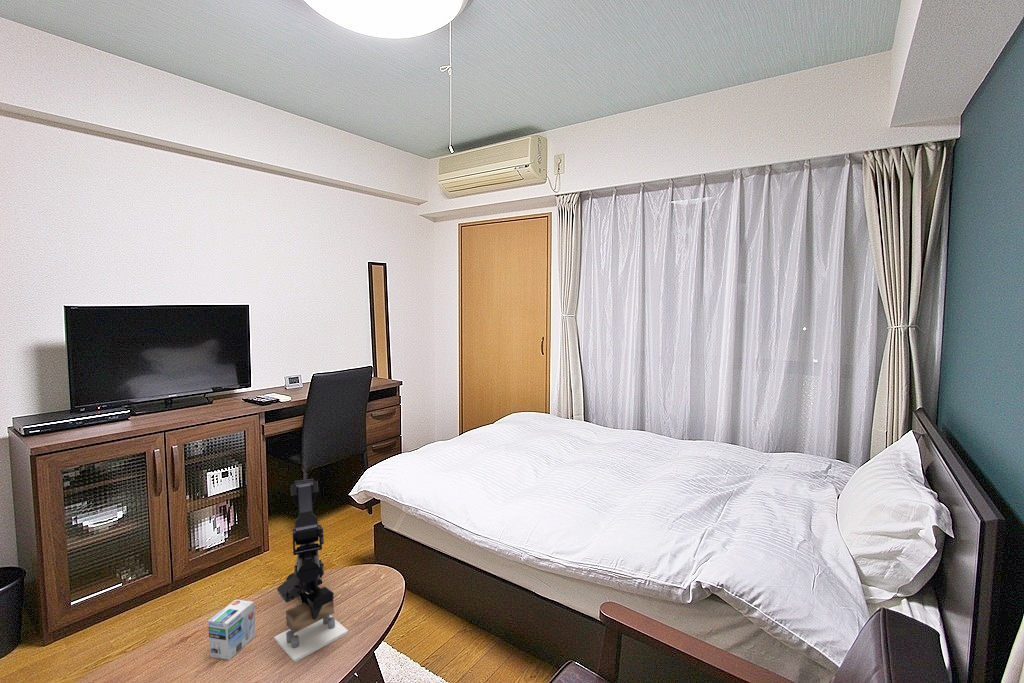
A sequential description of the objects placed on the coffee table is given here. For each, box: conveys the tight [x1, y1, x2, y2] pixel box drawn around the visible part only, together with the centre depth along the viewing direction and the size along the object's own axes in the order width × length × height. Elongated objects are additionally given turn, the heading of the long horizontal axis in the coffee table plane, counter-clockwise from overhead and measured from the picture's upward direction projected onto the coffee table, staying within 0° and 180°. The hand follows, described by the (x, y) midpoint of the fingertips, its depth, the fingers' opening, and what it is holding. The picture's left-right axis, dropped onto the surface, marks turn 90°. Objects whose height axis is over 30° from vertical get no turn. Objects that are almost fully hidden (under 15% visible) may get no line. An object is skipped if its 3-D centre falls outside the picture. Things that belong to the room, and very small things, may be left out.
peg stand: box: [273, 614, 349, 663], centre depth 144 cm, size 14×16×3 cm
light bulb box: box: [207, 598, 257, 661], centre depth 140 cm, size 11×7×11 cm, turn 168°
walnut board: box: [285, 600, 335, 633], centre depth 143 cm, size 12×5×4 cm, turn 138°
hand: (310, 615), depth 143 cm, fingers closed on walnut board, 5 cm apart
